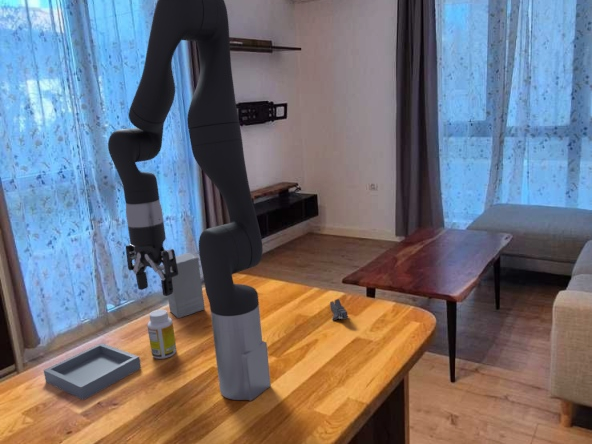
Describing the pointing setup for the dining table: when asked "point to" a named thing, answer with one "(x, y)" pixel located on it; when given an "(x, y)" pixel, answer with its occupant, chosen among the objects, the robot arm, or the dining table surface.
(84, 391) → the slate tray
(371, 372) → the dining table surface
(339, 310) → the animal figurine
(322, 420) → the dining table surface
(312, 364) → the dining table surface
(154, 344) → the supplement bottle
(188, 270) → the skincare box
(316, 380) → the dining table surface
